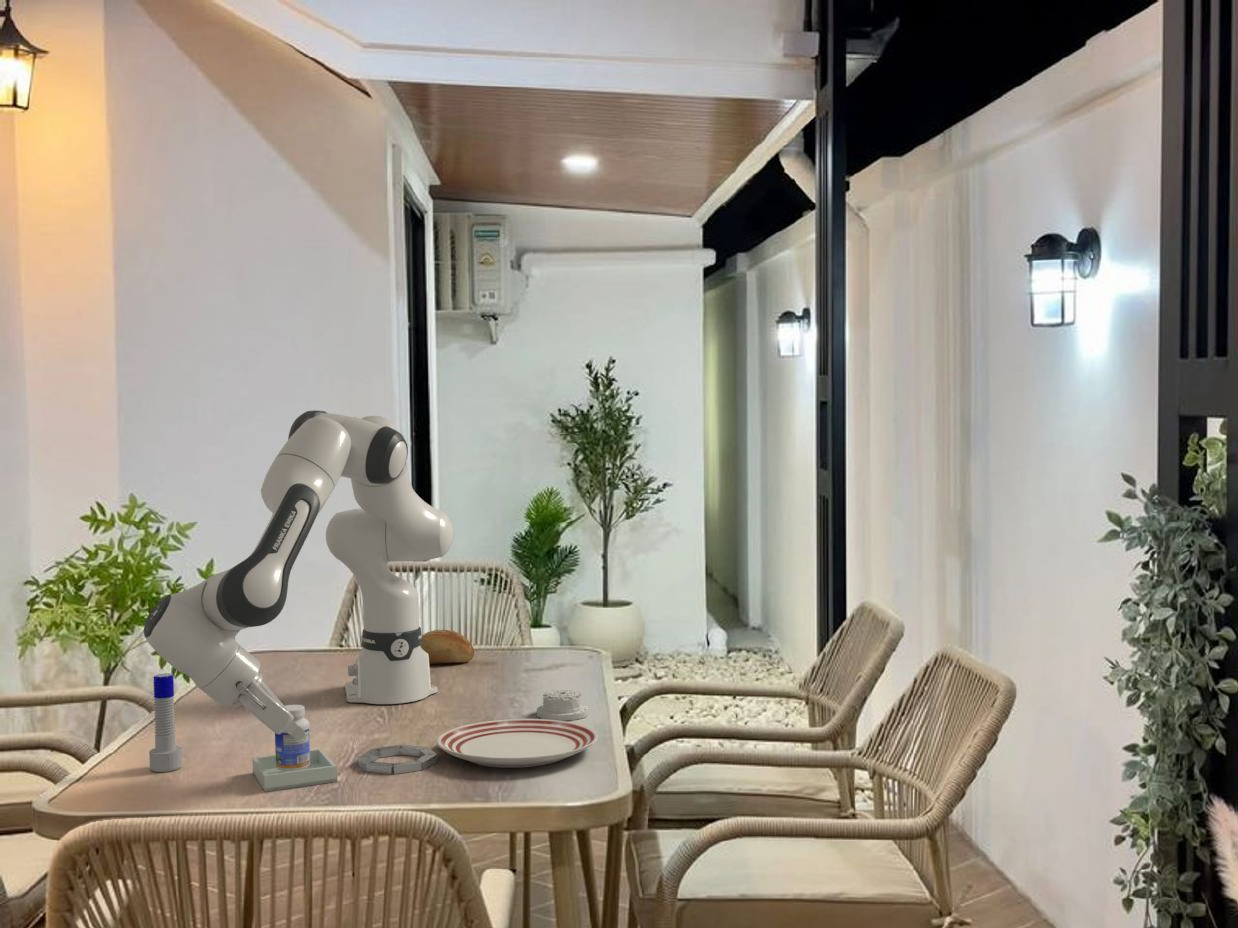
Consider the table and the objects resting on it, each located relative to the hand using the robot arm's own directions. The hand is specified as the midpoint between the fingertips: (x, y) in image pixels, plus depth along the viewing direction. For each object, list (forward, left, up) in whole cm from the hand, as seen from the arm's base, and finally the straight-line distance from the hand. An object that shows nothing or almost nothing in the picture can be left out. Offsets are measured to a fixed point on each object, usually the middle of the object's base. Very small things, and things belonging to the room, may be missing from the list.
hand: (297, 731), depth 195 cm
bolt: (-15, -19, -8) cm, 25 cm away
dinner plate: (+4, +36, -8) cm, 37 cm away
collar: (0, +16, -7) cm, 18 cm away
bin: (0, -1, -7) cm, 7 cm away
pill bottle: (0, -1, -6) cm, 6 cm away
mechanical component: (-16, +53, -8) cm, 56 cm away
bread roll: (-73, +47, -8) cm, 87 cm away
